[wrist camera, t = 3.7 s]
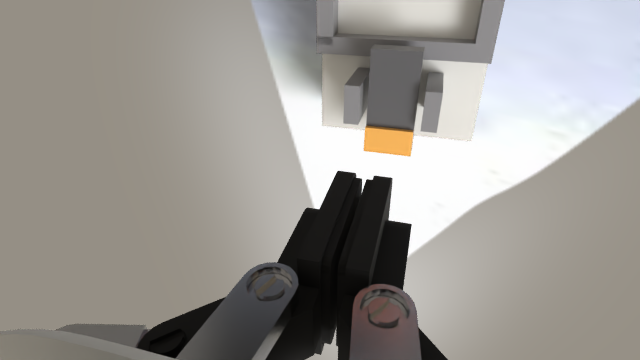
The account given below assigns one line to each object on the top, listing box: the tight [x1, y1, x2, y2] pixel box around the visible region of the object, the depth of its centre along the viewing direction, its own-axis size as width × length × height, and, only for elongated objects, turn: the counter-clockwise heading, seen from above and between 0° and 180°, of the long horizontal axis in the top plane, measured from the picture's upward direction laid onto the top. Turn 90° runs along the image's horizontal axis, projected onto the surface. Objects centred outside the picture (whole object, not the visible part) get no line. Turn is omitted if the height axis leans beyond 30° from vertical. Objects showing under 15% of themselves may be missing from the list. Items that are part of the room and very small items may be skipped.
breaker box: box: [316, 0, 505, 141], centre depth 18 cm, size 13×8×7 cm, turn 0°
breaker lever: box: [364, 44, 425, 156], centre depth 18 cm, size 5×2×1 cm, turn 0°
